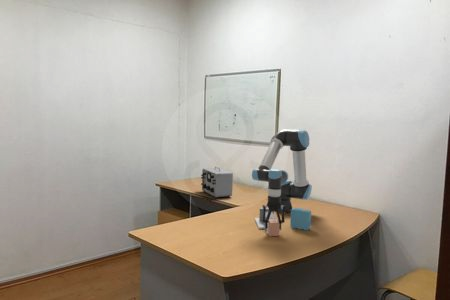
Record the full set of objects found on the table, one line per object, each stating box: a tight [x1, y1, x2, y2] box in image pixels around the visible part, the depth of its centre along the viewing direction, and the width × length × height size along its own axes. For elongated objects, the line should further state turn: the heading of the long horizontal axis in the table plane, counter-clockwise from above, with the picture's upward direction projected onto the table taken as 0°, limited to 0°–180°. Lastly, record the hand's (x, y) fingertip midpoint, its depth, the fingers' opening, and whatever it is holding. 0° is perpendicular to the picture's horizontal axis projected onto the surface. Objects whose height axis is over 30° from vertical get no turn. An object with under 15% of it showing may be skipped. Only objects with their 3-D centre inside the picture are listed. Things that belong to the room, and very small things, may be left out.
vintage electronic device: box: [200, 166, 234, 199], centre depth 301 cm, size 32×18×25 cm, turn 25°
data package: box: [289, 207, 312, 231], centre depth 211 cm, size 12×4×12 cm, turn 58°
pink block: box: [268, 218, 280, 237], centre depth 199 cm, size 6×8×8 cm
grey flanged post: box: [254, 207, 277, 232], centre depth 215 cm, size 14×24×10 cm, turn 3°
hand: (272, 233), depth 198 cm, fingers closed on pink block, 6 cm apart
